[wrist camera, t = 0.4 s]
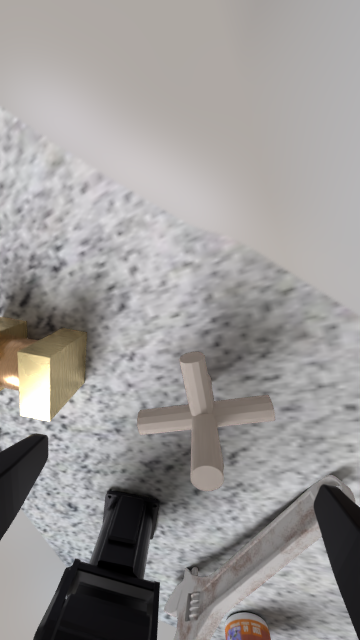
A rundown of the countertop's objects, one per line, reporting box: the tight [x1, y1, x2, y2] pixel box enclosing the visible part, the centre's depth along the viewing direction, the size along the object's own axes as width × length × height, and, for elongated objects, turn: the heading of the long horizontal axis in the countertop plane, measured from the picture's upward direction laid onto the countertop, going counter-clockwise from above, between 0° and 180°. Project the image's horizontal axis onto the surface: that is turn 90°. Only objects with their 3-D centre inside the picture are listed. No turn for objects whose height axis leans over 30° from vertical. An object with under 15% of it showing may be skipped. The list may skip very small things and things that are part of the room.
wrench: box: [164, 475, 355, 640], centre depth 25 cm, size 8×2×30 cm
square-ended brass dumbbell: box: [0, 317, 87, 421], centre depth 19 cm, size 8×6×6 cm, turn 80°
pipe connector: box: [137, 352, 275, 491], centre depth 17 cm, size 10×10×10 cm
